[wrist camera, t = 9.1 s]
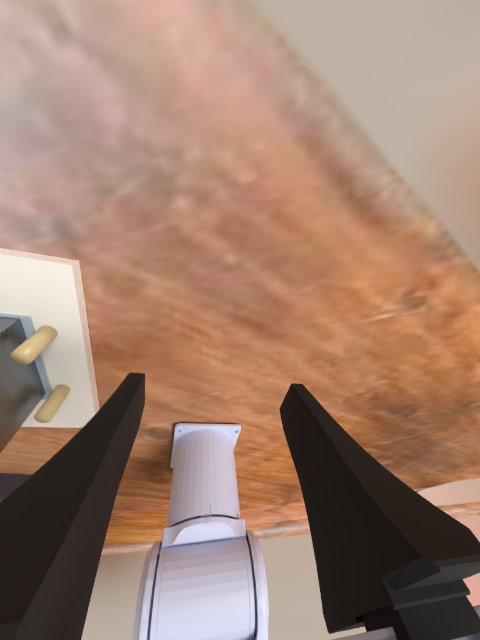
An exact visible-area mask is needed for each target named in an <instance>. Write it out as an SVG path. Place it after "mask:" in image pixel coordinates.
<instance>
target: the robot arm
mask: <svg viewBox="0 0 480 640" xmlns="http://www.w3.org/2000/svg"><path fill="white" fill-rule="evenodd" d="M144 404H145V374H142V373H129V374H128V375H127V376H126V378H125V379H124V380H123V382H122V383H121V384H120V386H119V387H118V388H117V390H116V391H115V392H114V393H113V394H112V396H111V397H110V398H109V399H108V400H107V402H106V403H105V404H104V405H103V406H102V407H101V408H100V410H99V411H98V412H97V413H96V414H95V415H94V416H93V417H92V418H91V419H90V421H89V422H88V423H87V424H86V425H85V426H84V427H83V428H82V429H81V430H80V431H79V432H78V433H77V434H76V435H75V436H74V437H73V438H72V439H71V440H70V441H69V442H68V443H67V444H66V445H65V446H64V447H63V448H62V449H61V450H60V451H58V452H57V453H56V454H55V455H54V456H53V457H52V458H51V459H50V460H49V461H48V462H47V463H45V464H44V465H43V466H42V467H41V468H40V469H39V470H37V471H36V472H35V473H34V474H33V475H32V476H30V477H29V478H28V479H27V480H26V481H25V482H24V483H22V484H21V485H20V486H19V487H18V488H16V489H15V490H14V491H13V492H12V493H10V494H9V495H8V496H7V497H5V498H4V499H3V500H2V501H0V640H81V637H82V633H83V628H84V624H85V620H86V615H87V611H88V606H89V602H90V598H91V594H92V590H93V586H94V581H95V577H96V573H97V569H98V565H99V561H100V557H101V553H102V549H103V545H104V541H105V537H106V533H107V529H108V525H109V521H110V517H111V513H112V509H113V505H114V501H115V498H116V494H117V491H118V487H119V484H120V481H121V478H122V475H123V472H124V469H125V467H126V464H127V461H128V458H129V455H130V452H131V449H132V446H133V443H134V441H135V438H136V435H137V432H138V429H139V426H140V421H141V417H142V413H143V409H144ZM280 414H281V420H282V425H283V430H284V433H285V436H286V440H287V443H288V446H289V449H290V452H291V455H292V459H293V462H294V465H295V468H296V471H297V474H298V478H299V481H300V485H301V489H302V493H303V498H304V502H305V507H306V512H307V516H308V521H309V526H310V531H311V537H312V542H313V548H314V554H315V560H316V566H317V572H318V579H319V586H320V593H321V600H322V608H323V615H324V618H325V622H326V626H327V629H328V632H329V634H331V633H335V632H339V631H345V630H350V629H354V628H359V627H364V626H365V628H366V631H367V632H365V633H361V634H356V635H351V636H347V637H342V638H338V639H333V640H480V605H478V606H474V607H473V606H472V605H471V603H470V602H469V600H468V599H467V597H466V595H470V591H469V589H468V587H467V586H466V584H465V583H464V581H463V580H462V579H464V578H467V577H470V576H472V575H475V574H477V573H480V542H479V541H478V540H477V538H476V537H475V535H474V534H473V533H472V532H471V530H470V529H469V528H467V527H466V526H464V525H463V524H461V523H460V522H458V521H457V520H455V519H454V518H452V517H451V516H449V515H448V514H446V513H445V512H443V511H442V510H440V509H439V508H437V507H436V506H434V505H433V504H432V503H430V502H429V501H427V500H426V499H425V498H423V497H422V496H421V495H419V494H417V493H416V492H415V491H414V490H412V489H411V488H410V487H408V486H407V485H406V484H405V483H403V482H402V481H401V480H399V479H398V478H397V477H396V476H394V475H393V474H392V473H391V472H389V471H388V470H387V469H386V468H385V467H383V466H382V465H381V464H380V463H379V462H377V461H376V460H375V459H374V458H373V457H372V456H371V455H370V454H369V453H367V452H366V451H365V450H364V449H363V448H362V447H361V446H360V445H359V444H358V443H357V442H356V441H355V440H354V439H353V438H352V437H351V436H350V435H349V434H348V433H347V432H346V431H345V430H344V429H343V428H342V427H341V426H340V425H339V424H338V423H337V422H336V421H335V420H334V419H333V418H332V417H331V416H330V414H329V413H328V412H327V411H326V410H325V409H324V408H323V407H322V406H321V404H320V403H319V402H318V401H317V400H316V399H315V398H314V397H313V395H312V394H311V393H310V392H309V391H308V390H307V389H306V388H305V386H304V385H303V384H293V383H292V384H291V386H290V388H289V390H288V392H287V394H286V396H285V399H284V401H283V403H282V405H281V407H280ZM240 430H241V426H240V425H238V424H196V423H178V424H176V425H175V432H174V440H173V448H172V456H171V464H170V467H171V468H173V476H172V485H171V493H170V502H169V510H168V519H167V527H166V528H164V529H163V537H162V541H156V542H155V543H154V544H153V547H152V548H151V549H150V550H149V551H148V553H147V555H146V559H145V563H144V566H143V571H142V576H141V581H140V587H139V593H138V599H137V606H136V614H135V622H134V632H133V640H269V637H268V619H269V605H268V590H267V581H266V572H265V566H264V560H263V555H262V551H261V547H260V544H259V541H258V539H257V538H256V536H255V535H254V534H253V532H252V531H251V530H245V521H244V519H240V510H239V500H238V490H237V480H236V470H235V459H234V447H235V444H236V441H237V439H238V436H239V433H240Z"/></svg>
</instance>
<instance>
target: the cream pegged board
mask: <svg viewBox="0 0 480 640" xmlns="http://www.w3.org/2000/svg"><path fill="white" fill-rule="evenodd" d="M0 317H10V318H20V319H21V322H22V325H23V328H24V331H25V334H26V337H27V340H25V341H24V342H23V343H22V344H21V345H20V346H19V347H17V348H16V349H15V350H14V351H13V352H12V353H11V358H12V359H13V360H14V361H15V362H17V363H19V364H30V363H31V362H32V361H33V360H34V361H35V364H36V366H37V369H38V372H39V375H40V378H41V381H42V384H43V387H44V390H45V393H46V394H45V395H44V397H43V398H42V399H41V400H40V402H39V403H38V404H37V406H36V407H35V408H34V410H33V411H32V412H31V414H30V415H29V416H28V417H27V419H26V420H25V421H24V423H23V424H22V425H21V427H64V428H83V427H84V426H85V425H86V424H87V423H88V422H89V421H90V419H91V418H92V417H93V416H94V415H95V414H96V413H97V412H98V411H99V410H100V408H99V401H98V393H97V386H96V379H95V372H94V365H93V357H92V350H91V343H90V336H89V329H88V321H87V314H86V307H85V300H84V293H83V286H82V278H81V271H80V264H79V261H78V260H72V259H66V258H59V257H53V256H47V255H41V254H35V253H28V252H22V251H16V250H10V249H3V248H0Z"/></svg>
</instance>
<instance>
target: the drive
mask: <svg viewBox="0 0 480 640" xmlns="http://www.w3.org/2000/svg"><path fill="white" fill-rule="evenodd" d="M25 340H27V337H26V334H25V331H24V328H23V325H22V322H21V319H20V318H10V317H0V453H1V452H2V450H3V449H4V448H5V446H6V445H7V444H8V442H9V441H10V440H11V438H12V437H13V436H14V435H15V433H16V432H17V431H18V429H19V428H20V427H21V425H22V424H23V423H24V421H25V420H26V419H27V417H28V416H29V415H30V414H31V412H32V411H33V410H34V408H35V407H36V406H37V404H38V403H39V402H40V400H41V399H42V398H43V397H44V395H45V394H46V393H45V390H44V387H43V384H42V381H41V378H40V375H39V372H38V369H37V366H36V364H35V361H34V360H33V361H32V362H31V363H30V364H19V363H17V362H15V361H14V360H13V359H12V358H11V353H12V352H13V351H14V350H15V349H16V348H17V347H19V346H20V345H21V344H22V343H23V342H24V341H25Z"/></svg>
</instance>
